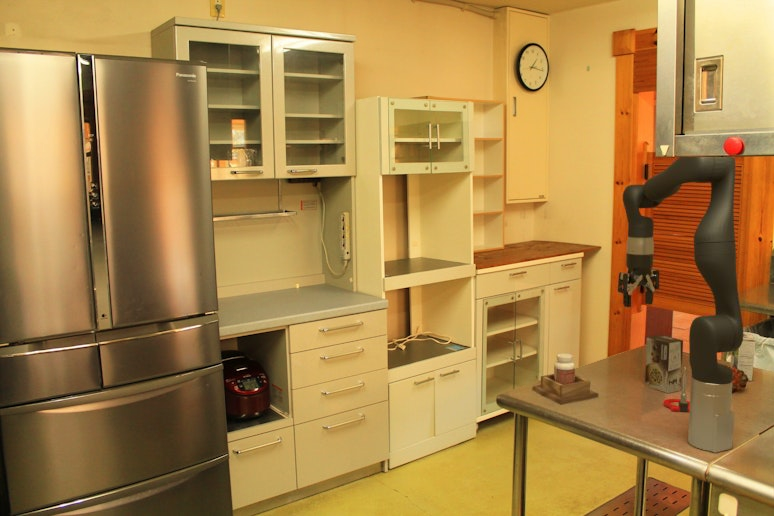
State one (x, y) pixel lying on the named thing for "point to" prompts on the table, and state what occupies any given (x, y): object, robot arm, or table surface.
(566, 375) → the pill bottle
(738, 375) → the dragon fruit
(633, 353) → the table surface
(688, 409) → the tow hook
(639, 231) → the robot arm
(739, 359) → the syrup box
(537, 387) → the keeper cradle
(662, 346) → the coffee box
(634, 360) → the table surface
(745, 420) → the table surface
